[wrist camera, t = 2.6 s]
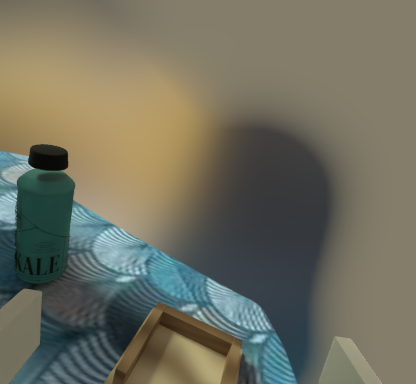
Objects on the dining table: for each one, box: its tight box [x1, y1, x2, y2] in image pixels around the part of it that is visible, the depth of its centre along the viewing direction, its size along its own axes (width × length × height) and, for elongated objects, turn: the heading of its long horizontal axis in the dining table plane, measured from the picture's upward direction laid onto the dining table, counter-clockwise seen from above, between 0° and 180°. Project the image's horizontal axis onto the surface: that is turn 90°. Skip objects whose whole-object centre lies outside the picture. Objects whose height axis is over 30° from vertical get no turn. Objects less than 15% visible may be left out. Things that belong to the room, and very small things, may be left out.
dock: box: [103, 302, 242, 384], centre depth 30 cm, size 14×14×3 cm
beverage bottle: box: [15, 144, 75, 283], centre depth 34 cm, size 6×7×20 cm
